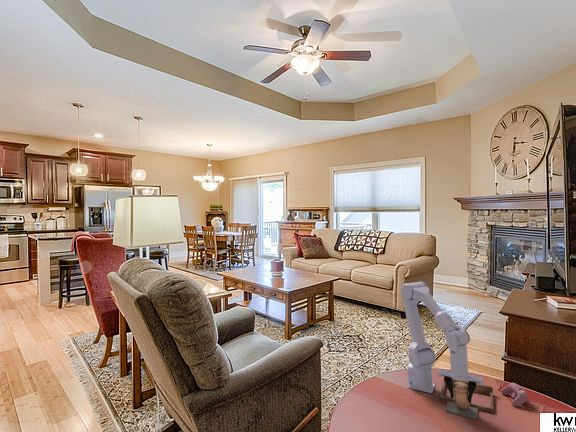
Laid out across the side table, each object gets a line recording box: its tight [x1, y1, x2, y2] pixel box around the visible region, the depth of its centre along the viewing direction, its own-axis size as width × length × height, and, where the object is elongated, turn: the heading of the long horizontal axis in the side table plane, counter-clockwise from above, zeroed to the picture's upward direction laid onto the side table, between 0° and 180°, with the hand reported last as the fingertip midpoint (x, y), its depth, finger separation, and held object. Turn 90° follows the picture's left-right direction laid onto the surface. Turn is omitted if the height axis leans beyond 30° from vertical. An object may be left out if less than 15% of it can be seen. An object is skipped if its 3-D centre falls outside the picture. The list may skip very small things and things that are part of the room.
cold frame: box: [439, 379, 494, 414], centre depth 122 cm, size 18×15×3 cm
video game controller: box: [500, 382, 529, 407], centre depth 119 cm, size 10×5×7 cm, turn 169°
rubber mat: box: [444, 401, 479, 421], centre depth 114 cm, size 10×7×1 cm
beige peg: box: [452, 382, 470, 409], centre depth 114 cm, size 5×5×7 cm
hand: (461, 399), depth 114 cm, fingers closed on beige peg, 5 cm apart
